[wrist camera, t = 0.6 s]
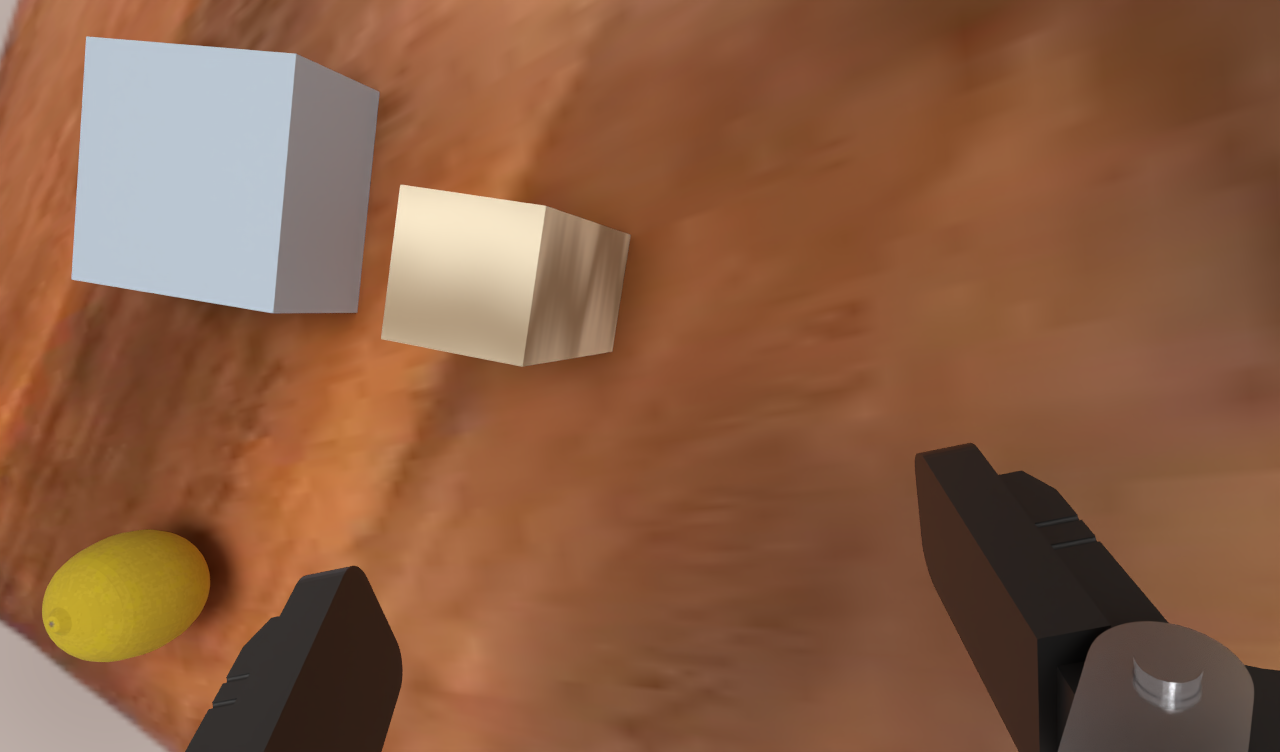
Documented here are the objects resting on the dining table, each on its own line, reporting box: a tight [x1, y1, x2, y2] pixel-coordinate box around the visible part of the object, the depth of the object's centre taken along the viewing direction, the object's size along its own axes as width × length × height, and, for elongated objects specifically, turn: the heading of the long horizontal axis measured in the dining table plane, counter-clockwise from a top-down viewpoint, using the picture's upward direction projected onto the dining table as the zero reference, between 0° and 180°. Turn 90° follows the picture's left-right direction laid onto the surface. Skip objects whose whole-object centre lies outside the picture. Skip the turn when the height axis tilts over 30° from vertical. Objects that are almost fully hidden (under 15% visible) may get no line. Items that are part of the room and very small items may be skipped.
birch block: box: [381, 185, 631, 367], centre depth 31 cm, size 5×5×10 cm
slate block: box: [72, 37, 379, 313], centre depth 37 cm, size 10×10×6 cm
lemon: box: [42, 530, 210, 662], centre depth 38 cm, size 6×6×8 cm
